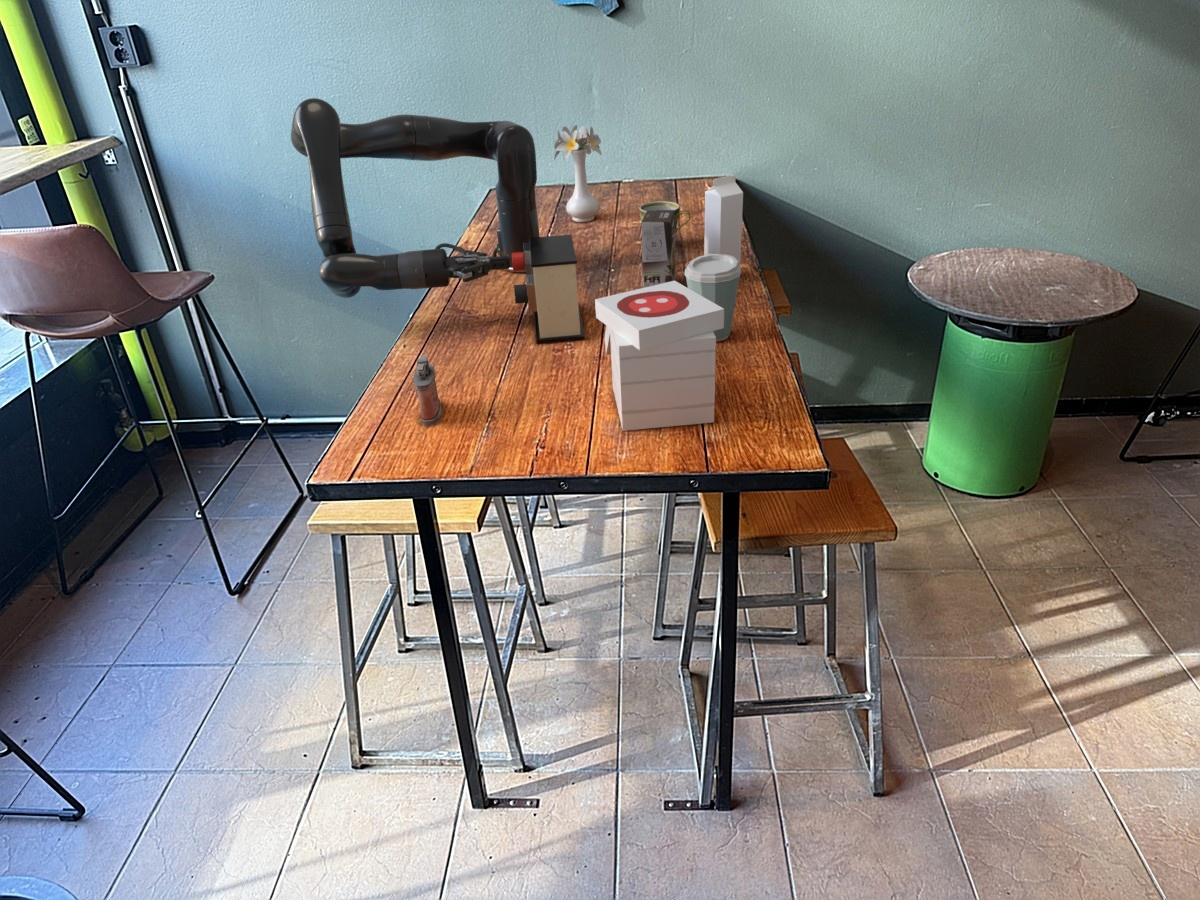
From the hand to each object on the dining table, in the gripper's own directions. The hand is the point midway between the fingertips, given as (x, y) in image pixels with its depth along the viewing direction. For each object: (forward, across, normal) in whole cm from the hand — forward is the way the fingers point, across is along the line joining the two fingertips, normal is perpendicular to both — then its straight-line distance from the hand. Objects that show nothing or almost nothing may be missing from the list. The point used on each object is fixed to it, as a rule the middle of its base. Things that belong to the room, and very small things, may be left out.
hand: (509, 262), depth 167 cm
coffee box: (+32, -12, -13) cm, 37 cm away
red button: (+2, 0, -2) cm, 3 cm away
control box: (+9, +4, -12) cm, 16 cm away
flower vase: (+19, -70, -13) cm, 74 cm away
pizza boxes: (+24, +37, -13) cm, 46 cm away
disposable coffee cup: (+38, +16, -13) cm, 43 cm away
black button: (+2, +9, -5) cm, 11 cm away
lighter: (-15, +38, -13) cm, 43 cm away
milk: (+47, -16, -13) cm, 52 cm away
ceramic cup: (+38, -40, -13) cm, 56 cm away
